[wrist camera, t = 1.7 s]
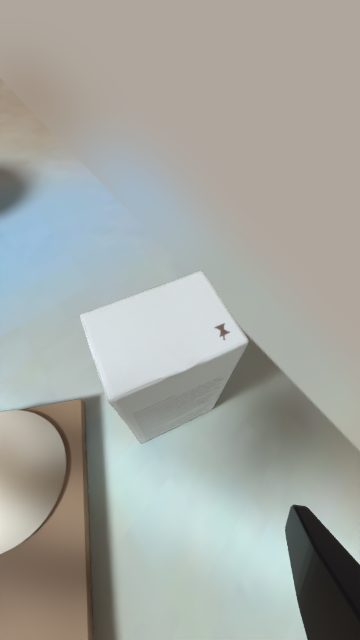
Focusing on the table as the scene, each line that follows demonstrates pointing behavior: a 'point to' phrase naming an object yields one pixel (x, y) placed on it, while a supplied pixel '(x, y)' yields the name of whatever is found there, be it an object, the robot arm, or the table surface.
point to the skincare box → (164, 353)
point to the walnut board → (44, 524)
